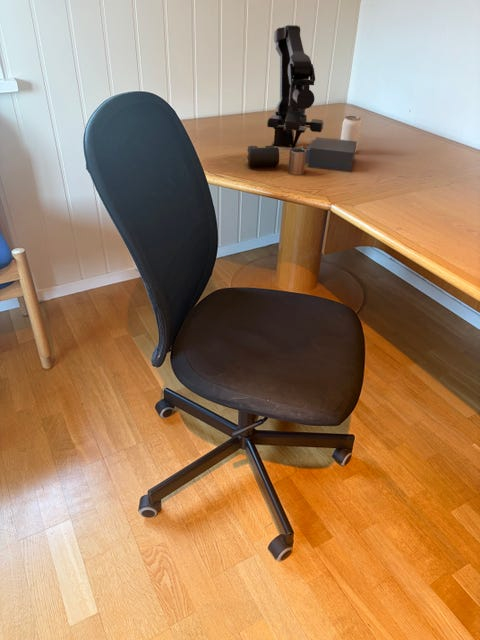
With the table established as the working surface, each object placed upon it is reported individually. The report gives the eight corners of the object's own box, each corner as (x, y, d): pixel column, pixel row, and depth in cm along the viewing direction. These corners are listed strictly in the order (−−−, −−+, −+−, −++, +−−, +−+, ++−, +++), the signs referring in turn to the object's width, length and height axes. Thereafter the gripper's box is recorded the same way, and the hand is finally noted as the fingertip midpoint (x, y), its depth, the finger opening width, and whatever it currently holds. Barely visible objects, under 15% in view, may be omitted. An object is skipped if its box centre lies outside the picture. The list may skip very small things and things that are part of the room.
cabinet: (308, 166, 169) (310, 147, 165) (314, 155, 179) (316, 137, 176) (350, 171, 166) (353, 152, 162) (353, 159, 176) (356, 141, 173)
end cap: (249, 171, 163) (250, 150, 159) (245, 164, 169) (246, 144, 165) (278, 170, 165) (280, 150, 161) (274, 163, 170) (275, 143, 166)
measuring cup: (278, 172, 163) (279, 150, 158) (281, 168, 167) (283, 146, 163) (302, 175, 161) (304, 153, 157) (305, 170, 165) (307, 148, 161)
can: (356, 154, 181) (361, 120, 174) (338, 153, 182) (343, 119, 175) (356, 149, 186) (361, 116, 179) (339, 148, 187) (344, 115, 180)
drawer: (294, 162, 170) (295, 148, 167) (301, 151, 179) (302, 138, 177) (344, 168, 166) (346, 154, 163) (348, 157, 176) (350, 143, 173)
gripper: (265, 104, 160) (262, 152, 169) (322, 109, 156) (316, 158, 165) (272, 97, 169) (269, 143, 178) (326, 102, 165) (320, 149, 174)
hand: (293, 148), depth 173 cm, fingers closed
